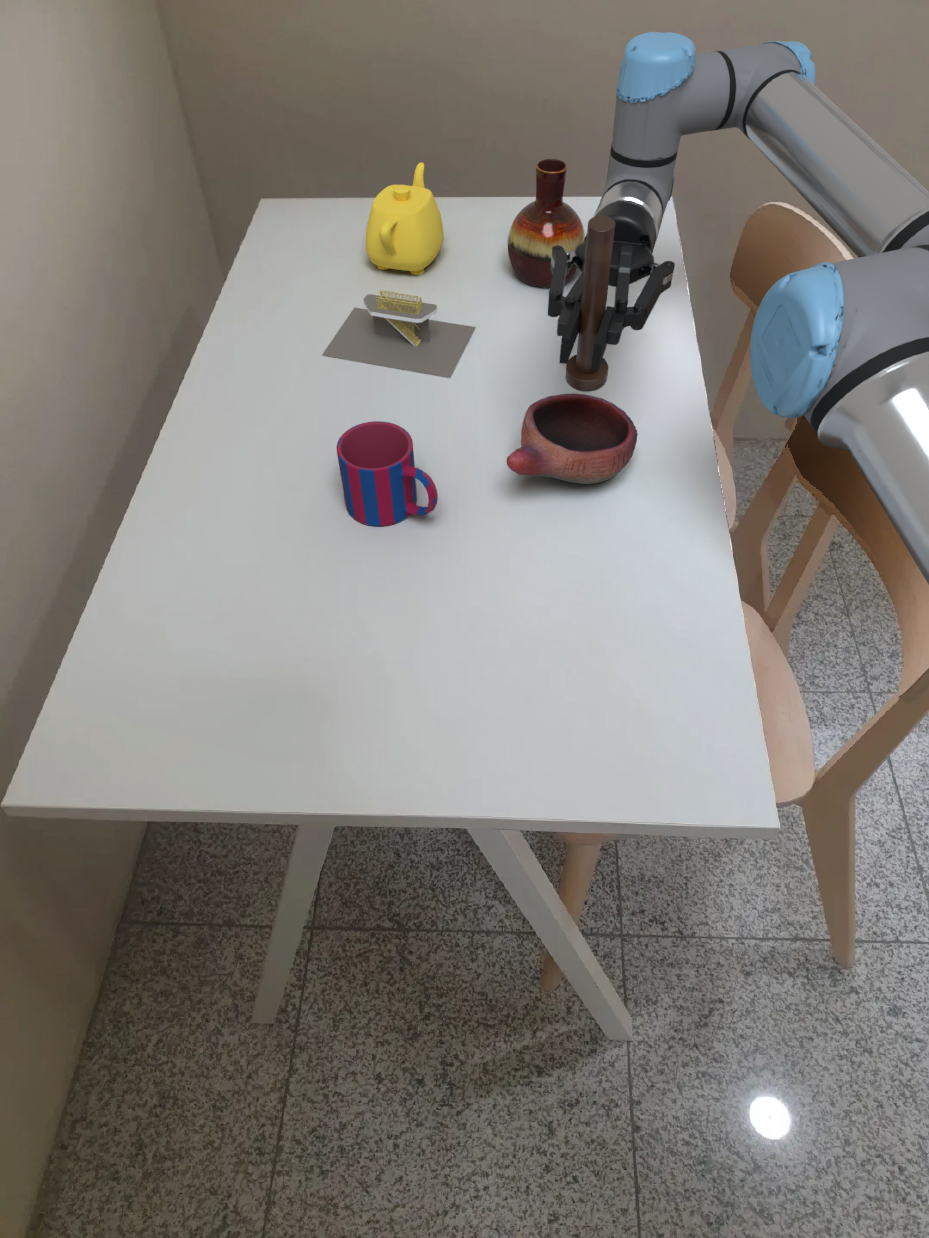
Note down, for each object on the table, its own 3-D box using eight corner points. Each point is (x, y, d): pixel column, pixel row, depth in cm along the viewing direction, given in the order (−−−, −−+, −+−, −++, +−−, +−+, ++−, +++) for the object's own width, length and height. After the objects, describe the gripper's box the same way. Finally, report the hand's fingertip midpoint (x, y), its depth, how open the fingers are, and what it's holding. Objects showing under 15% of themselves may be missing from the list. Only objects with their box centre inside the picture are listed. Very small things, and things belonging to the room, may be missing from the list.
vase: (503, 256, 127) (506, 148, 115) (576, 253, 128) (586, 146, 116) (510, 296, 121) (514, 186, 108) (586, 293, 121) (599, 183, 109)
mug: (383, 467, 98) (377, 411, 92) (456, 518, 93) (455, 461, 86) (331, 502, 95) (320, 446, 88) (403, 556, 89) (398, 501, 83)
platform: (450, 377, 109) (448, 332, 104) (321, 355, 112) (314, 310, 107) (475, 327, 116) (475, 283, 111) (354, 307, 119) (349, 263, 114)
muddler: (610, 367, 89) (631, 212, 74) (602, 395, 87) (621, 241, 72) (570, 360, 90) (582, 205, 75) (560, 388, 88) (571, 234, 73)
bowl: (535, 422, 103) (539, 367, 97) (639, 443, 100) (650, 387, 94) (498, 510, 94) (500, 455, 87) (611, 535, 91) (621, 480, 85)
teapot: (393, 225, 134) (387, 154, 125) (459, 234, 132) (458, 162, 123) (352, 283, 123) (343, 210, 115) (423, 294, 121) (420, 220, 113)
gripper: (686, 275, 95) (655, 400, 81) (552, 257, 97) (500, 374, 84) (700, 209, 89) (669, 331, 75) (557, 191, 92) (502, 305, 78)
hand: (580, 353), depth 79 cm, fingers closed on muddler, 2 cm apart
